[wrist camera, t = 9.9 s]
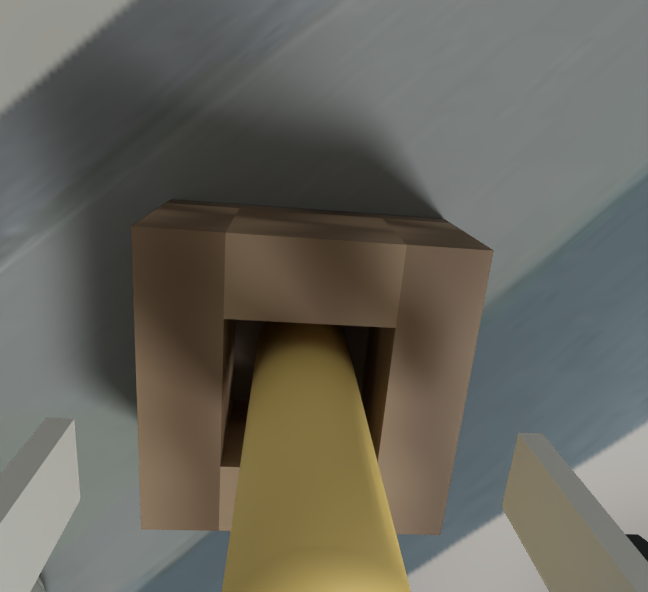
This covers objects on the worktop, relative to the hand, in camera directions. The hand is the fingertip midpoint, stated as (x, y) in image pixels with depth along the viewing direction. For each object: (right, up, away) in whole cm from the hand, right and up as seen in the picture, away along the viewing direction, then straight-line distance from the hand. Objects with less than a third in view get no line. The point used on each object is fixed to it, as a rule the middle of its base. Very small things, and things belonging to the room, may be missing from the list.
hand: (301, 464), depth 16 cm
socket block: (0, +3, +9) cm, 10 cm away
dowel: (0, +3, +8) cm, 9 cm away
